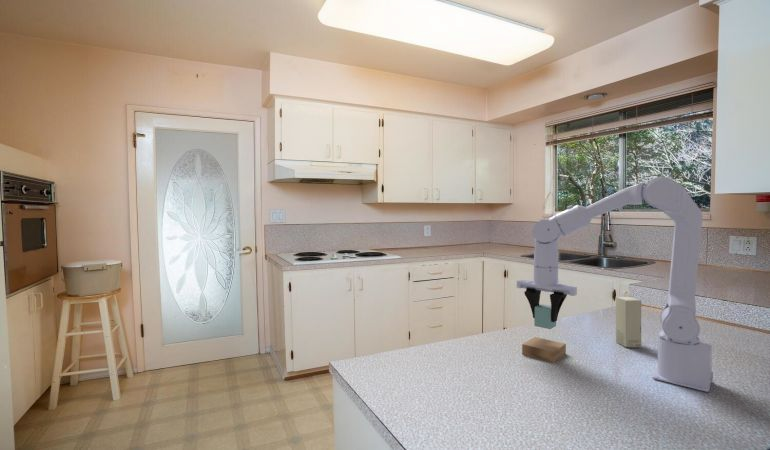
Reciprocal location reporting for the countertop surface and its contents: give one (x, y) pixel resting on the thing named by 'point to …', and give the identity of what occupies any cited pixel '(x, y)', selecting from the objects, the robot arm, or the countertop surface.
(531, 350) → the tan wooden block
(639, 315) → the box
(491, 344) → the countertop surface
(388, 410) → the countertop surface
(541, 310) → the teal block
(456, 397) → the countertop surface
